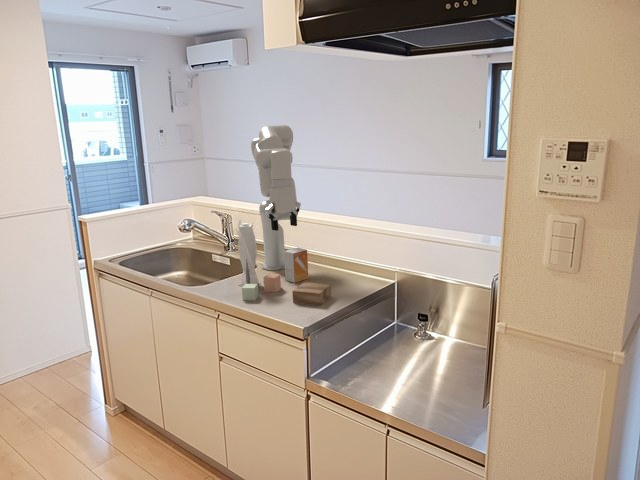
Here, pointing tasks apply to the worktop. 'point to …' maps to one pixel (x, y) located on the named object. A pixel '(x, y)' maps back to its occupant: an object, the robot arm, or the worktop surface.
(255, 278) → the skyscraper
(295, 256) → the small box
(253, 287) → the sage cube
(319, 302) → the walnut block
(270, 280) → the terracotta block
